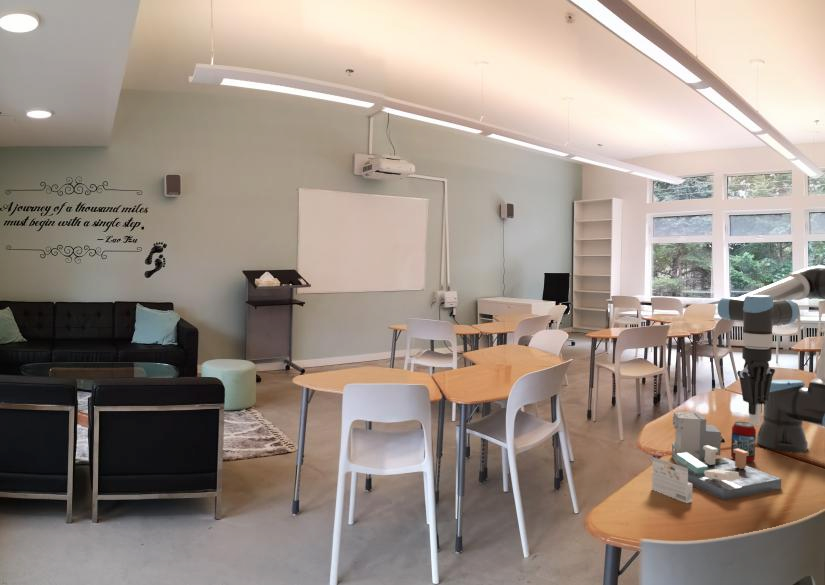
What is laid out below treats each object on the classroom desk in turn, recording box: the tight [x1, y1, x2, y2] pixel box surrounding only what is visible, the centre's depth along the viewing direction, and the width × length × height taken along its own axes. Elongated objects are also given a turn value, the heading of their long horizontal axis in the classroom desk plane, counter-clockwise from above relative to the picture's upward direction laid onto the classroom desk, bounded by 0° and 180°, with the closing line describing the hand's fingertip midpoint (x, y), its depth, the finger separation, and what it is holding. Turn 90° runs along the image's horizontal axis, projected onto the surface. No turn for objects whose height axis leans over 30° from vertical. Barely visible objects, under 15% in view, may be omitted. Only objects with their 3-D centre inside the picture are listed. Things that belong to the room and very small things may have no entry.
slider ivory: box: [703, 445, 718, 465], centre depth 178 cm, size 2×4×5 cm, turn 21°
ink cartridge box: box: [651, 456, 693, 504], centre depth 162 cm, size 2×11×10 cm, turn 32°
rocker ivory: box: [704, 469, 740, 481], centre depth 164 cm, size 5×8×2 cm, turn 21°
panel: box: [669, 457, 782, 501], centre depth 172 cm, size 22×20×3 cm
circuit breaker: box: [671, 411, 726, 465], centre depth 189 cm, size 8×14×15 cm, turn 78°
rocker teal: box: [676, 452, 708, 473], centre depth 174 cm, size 5×8×2 cm, turn 21°
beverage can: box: [730, 421, 757, 464], centre depth 191 cm, size 7×7×12 cm
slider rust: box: [733, 449, 749, 469], centre depth 175 cm, size 2×4×5 cm, turn 21°
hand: (754, 424), depth 176 cm, fingers closed
